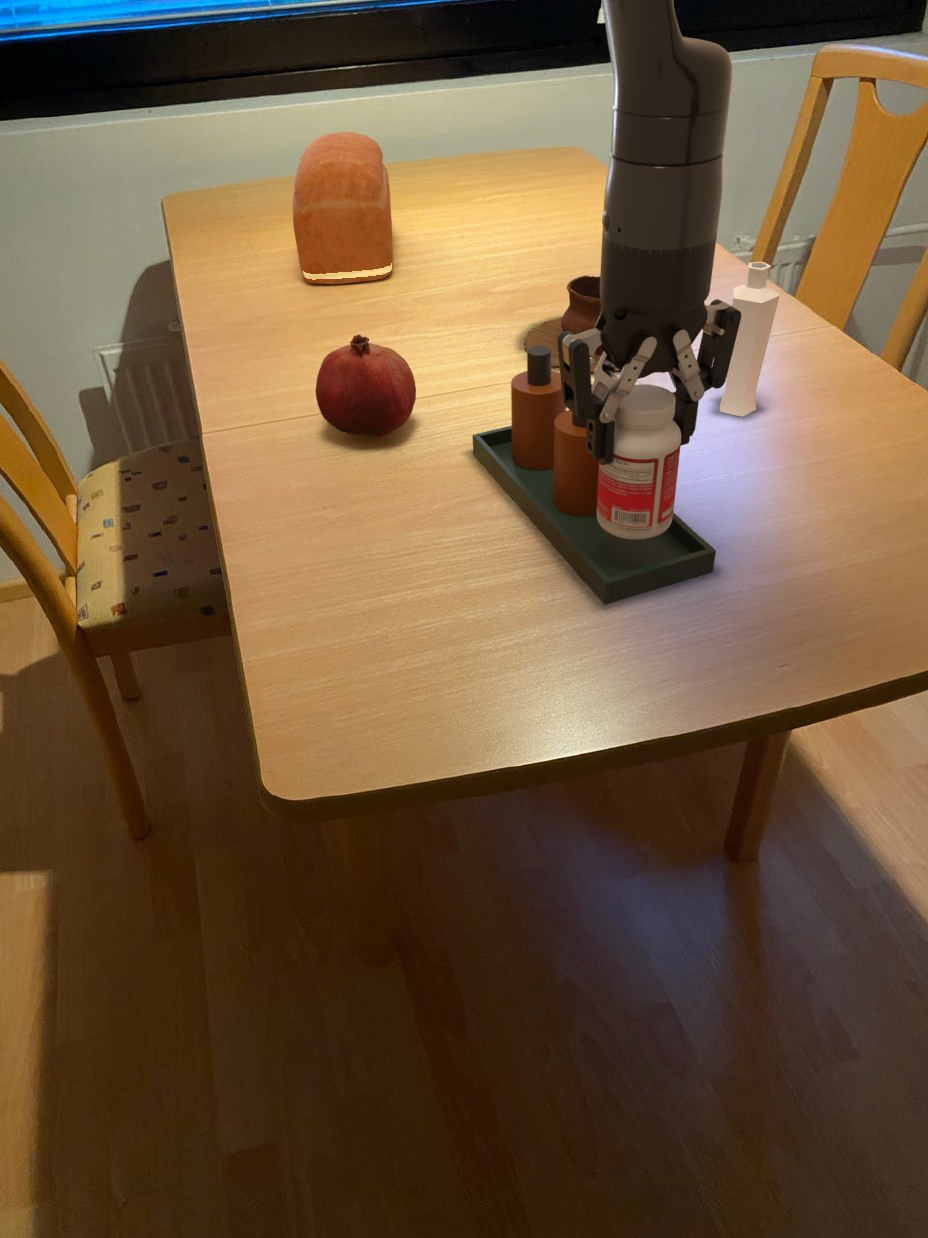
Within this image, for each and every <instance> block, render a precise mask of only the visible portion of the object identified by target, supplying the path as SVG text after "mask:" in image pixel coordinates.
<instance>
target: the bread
mask: <svg viewBox="0 0 928 1238" xmlns="http://www.w3.org/2000/svg"><path fill="white" fill-rule="evenodd" d="M383 161H384V155H383V152H382V148H381V146H380V145H379V143H378V142H377V141H376V140H374V139H372V138H371V137H369V136H368V135H366V134H361V133H358V132H354V131H343V132H330V133H325V134H323V135H321V136H318V137H317V138H315V139H314V140H313V141H312V142H310V144H309V145H307V147H306V148H305V150H304V152H303V154H302V155H301V157H300V159H299V164H298V166H297V168H296V172H295V173H296V174H295V179H294V182H293V198H292V225H293V226H292V227H293V232H294V238H295V243H296V251H297V255H298V256H297V257H298V262H299V267H300V271H301V270H302V271H304V272H306V273H310V274H321V273H322V274H326V273H338V272H352V271H362V270H373V269H379V268H384V267H386V266H390V265H391V263H392V261H393V262H394V248H393V249H392V244H393V245H394V243H393V241H394V239H393V221H392V207H391V206H392V205H391V191H390V190H391V189H390V181H389V180H390V179H389V173H388V169H387V167H386V166H385V164H384V162H383ZM302 271H301V272H302ZM391 273H392V271H391V272H388V273H386V274H383V275H376V276H368V277H356V278H342V279H316V280H312V279H307V278H305V277H304V276H303V275H302V277H303V278H304V279H305V281H306V282H308V283H312V284H320V285H324V284H326V285H337V284H338V285H341V284H351V283H361V282H368V281H369V282H370V281H375V280H376V281H377V280H383V279H385V278H386V277H388V276H389V275H390V274H391Z"/></svg>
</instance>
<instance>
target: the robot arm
mask: <svg viewBox="0 0 928 1238" xmlns="http://www.w3.org/2000/svg"><path fill="white" fill-rule="evenodd" d="M600 1H601V8H602V12H603V13H602V14H603V18H604V25H605V31H606V39H607V45H608V51H609V56H610V57H609V58H610V63H611V71H612V77H613V98H612V99H613V101H612V121H611V137H610V139H611V140H610V154H609V164H608V170H607V175H606V180H605V187H604V196H603V214H602V218H601V222H602V224H601V225H602V231H601V232H602V235H601V252H600V253H601V254H600V272H599V273H600V274H599V277H600V298H601V313H600V316H599V318H598V320H597V322H596V324H595V327H594V329H591V330H588V331H585V332H582V333H579V334H576V335H574V334H573V333H571V332H570V331H563V332H562V333H560V335H559V336H558V339H557V343H558V354H559V365H560V366H559V373H560V376H561V387H562V398H563V404H564V405H565V406H566V409H568V410H570V411H571V412H573V413H574V414H575V415H576V416H577V417H578V418H579V419H580V420H587V424H586V445H585V447H586V449H587V452H588V453H590V454H591V455H592V456H593V458H594V459H596V460H597V461H598V462H599V463H600V464H601V465H606V464H610V463H612V461H613V447H614V432H615V421H614V420H613V417H614V415H615V413H616V411H617V409H618V407H619V405H620V403H621V401H622V399H623V397H625V396H628V395H629V394H630V393H631V391H632V389H633V387H634V385H636V383H637V381H638V380H639V379H643V378H646V377H648V376H650V375H653V374H654V373H661V374H665V373H668V375H669V378H670V381H671V383H672V385H673V387H674V388H675V391H673V392H672V391H671V392H672V393H673V394H674V396H675V399H676V402H675V414H674V417H673V419H672V420H674V421H675V422H676V424H677V425H678V427H679V429H680V431H681V446H685V445H688V444H689V443H690V441H691V437H693V435H694V433H695V431H696V426H697V418H698V411H699V402H700V400H701V399H702V398H704V395H705V392H708V391H709V390H710V389H712V388H713V389H715V390H717V389H721V388H722V387H723V386H724V385H725V384H726V377H727V373H728V369H729V365H730V361H731V357H732V353H733V349H734V345H735V341H736V337H737V333H738V329H739V325H740V321H741V312H740V311H739V310H737V309H735V308H734V307H733V306H732V304H729V303H728V302H725V301H723V300H721V299H718V298H715V299H714V300H712V301H711V302H710V304H705V301H706V300H707V299H708V298H709V296H710V293H711V287H712V286H711V285H712V277H713V270H714V262H715V254H716V246H717V236H718V228H719V221H720V213H721V205H722V196H723V159H724V148H725V141H726V133H727V125H728V116H729V109H730V98H731V91H732V82H733V64H732V59H731V57H730V54H729V52H728V51H727V50H726V48H724V47H723V46H721V44H718V43H715V42H712V41H709V40H704V39H699V38H692V37H687V36H683V35H682V33H681V30H680V26H679V23H678V19H677V15H676V10H675V5H674V4H675V3H674V0H600ZM701 332H702V335H701V339H700V344H699V348H698V353H697V357H696V356H695V352H694V350H693V348H692V344H694V341H695V340H696V339H697V337H698V336H699V334H700V333H701ZM599 346H601V347H602V349H603V350H604V352H603V354H602V356H601V359H600V361H599V363H598V365H597V367H596V369H595V371H594V372H593V377H594V380H593V383H592V376H591V375H592V374H591V373H592V372H590V364H594V362H595V358H594V357H595V352H596V349H597V348H598V347H599ZM615 367H616V368H617V369H619V370H620V371H619V370H618V371H619V372H620V374H619V376H617V375H616V374H615V373H616V372H615V371H616V370H615ZM614 370H615V371H614ZM591 384H592V387H591Z"/></svg>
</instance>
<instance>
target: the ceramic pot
mask: <svg viewBox="0 0 928 1238" xmlns="http://www.w3.org/2000/svg"><path fill="white" fill-rule="evenodd" d="M566 290H567V292H568V298H569V304H568V308H567V309H566V310H565V312H564V313H563V315H562V317H558V318H555V319H550V320H547V321H546V320H544V321H543V322H542V323H541V324H539V325H537V326H535V327H532V328H531V329H530V330H528V331H527V332H526V335H525V337H523V343H522V344H523V345H524V344H525V345H524V346H523V348H524V349H526V350H528V349H529V348H531V347H534V346H546V347H548V348H550V349H551V367H556V366H557V367H560V365H559V354H558V343H557V339H558V336H559V335H560V333H562V332H563V331H570V332H571V333H573V334H574V335H576V334H579V333H582V332H585V331H588V330H591V329H594V327H595V324H596V322H597V320H598V318H599V316H600V313H601V298H600V276H595V275H593V276H590V275H582V276H581V275H580V276H578V277H576V278H573V279H571V280H570V281H568V283H567V285H566ZM603 352H604V350H603V349H602V347H601V346H599V347H598V348H597V349H596V352H595V357H594V358H595V362H594V364H590V373H594V371H595V369H596V367H597V365H598V363H599V361H600V359H601V356H602V354H603ZM615 371H619V372H621V371H620V370H619V369H617V368H616V367H615V370H614V372H615Z"/></svg>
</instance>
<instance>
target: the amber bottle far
mask: <svg viewBox="0 0 928 1238" xmlns="http://www.w3.org/2000/svg"><path fill="white" fill-rule="evenodd" d="M526 350H527V351H526V368H527V369H526V371H523V372H520V373H518V374H515V376H514V377H513V378H512V379H511V381H510V398H511V399H510V400H511V402H510V403H511V404H510V405H511V407H510V408H511V411H510V412H511V426H512V459H513V461H514V462H515V463H516V464H517V465H518V466H520V467H523V468H526V469H530V470H546V469H551V468H554V424H555V419H556V417H557V416H558V415H559V414H561V413H563V412H565V411H567V407H566V406H565V405H564V404H563V398H562V387H561V376H560V372H557V371H554V370H552V365H551V349H550V348H548V347H546V346H534V347H531V348H529V349H526Z"/></svg>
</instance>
